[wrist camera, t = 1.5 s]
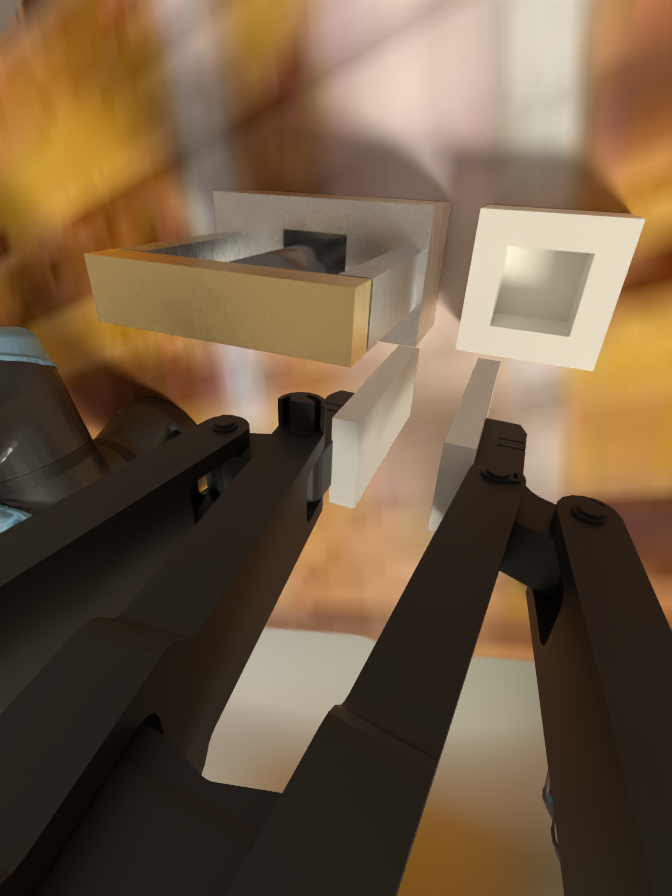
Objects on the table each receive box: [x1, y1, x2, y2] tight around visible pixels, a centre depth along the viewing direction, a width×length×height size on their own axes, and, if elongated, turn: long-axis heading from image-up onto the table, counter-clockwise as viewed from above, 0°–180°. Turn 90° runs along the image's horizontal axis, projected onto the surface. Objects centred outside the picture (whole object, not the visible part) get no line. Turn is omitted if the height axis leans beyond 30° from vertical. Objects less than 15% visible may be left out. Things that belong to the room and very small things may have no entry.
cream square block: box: [456, 205, 645, 371], centre depth 35 cm, size 10×10×6 cm
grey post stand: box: [120, 190, 452, 351], centre depth 35 cm, size 18×10×18 cm, turn 88°
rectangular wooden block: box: [84, 249, 372, 367], centre depth 27 cm, size 17×4×2 cm, turn 88°
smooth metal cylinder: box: [229, 236, 347, 275], centre depth 35 cm, size 4×4×16 cm
